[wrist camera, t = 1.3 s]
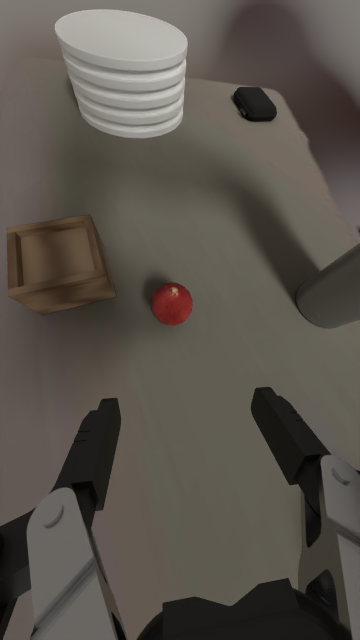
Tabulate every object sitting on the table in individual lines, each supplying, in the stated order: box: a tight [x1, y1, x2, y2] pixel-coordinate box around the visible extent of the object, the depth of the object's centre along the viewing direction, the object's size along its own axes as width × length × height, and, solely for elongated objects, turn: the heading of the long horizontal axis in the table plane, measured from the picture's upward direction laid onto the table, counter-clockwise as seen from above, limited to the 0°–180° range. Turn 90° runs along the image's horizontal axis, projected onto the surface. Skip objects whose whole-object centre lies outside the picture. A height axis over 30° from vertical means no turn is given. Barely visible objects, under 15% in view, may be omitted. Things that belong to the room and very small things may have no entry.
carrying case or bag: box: [234, 87, 277, 122], centre depth 53 cm, size 11×3×15 cm
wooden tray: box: [7, 215, 116, 315], centre depth 26 cm, size 11×11×6 cm
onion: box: [151, 282, 192, 325], centre depth 24 cm, size 6×6×8 cm
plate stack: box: [55, 10, 187, 138], centre depth 43 cm, size 28×28×12 cm
